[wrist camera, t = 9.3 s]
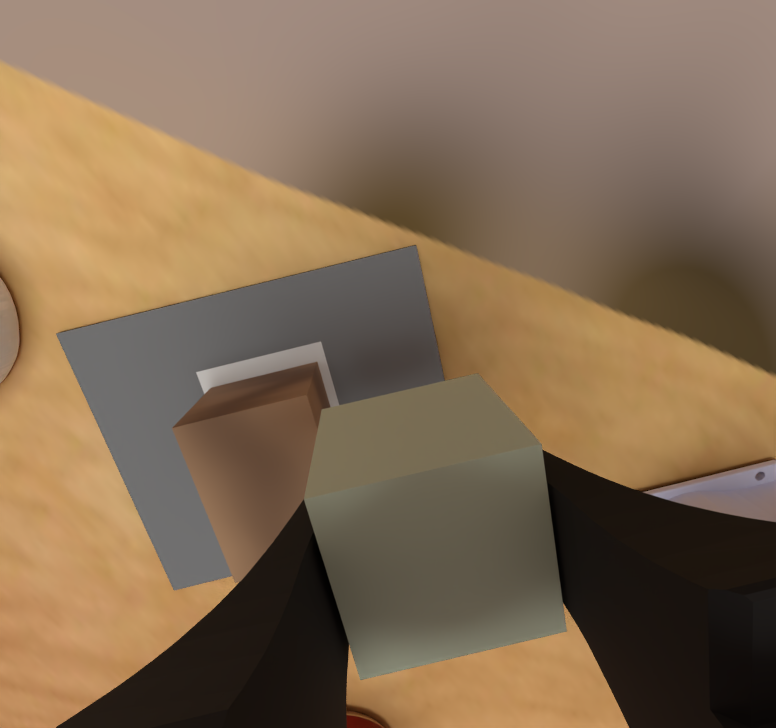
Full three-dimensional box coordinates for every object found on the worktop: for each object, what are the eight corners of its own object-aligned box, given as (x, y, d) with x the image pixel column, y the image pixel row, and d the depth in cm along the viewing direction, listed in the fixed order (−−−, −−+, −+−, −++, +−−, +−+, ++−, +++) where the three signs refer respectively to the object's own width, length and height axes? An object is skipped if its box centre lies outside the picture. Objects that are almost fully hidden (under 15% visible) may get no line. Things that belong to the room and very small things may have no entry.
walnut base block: (317, 361, 20) (306, 394, 16) (355, 492, 22) (355, 553, 18) (210, 387, 20) (171, 427, 16) (258, 515, 22) (234, 582, 18)
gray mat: (415, 245, 20) (416, 245, 19) (472, 514, 23) (473, 516, 23) (59, 332, 20) (56, 334, 19) (175, 587, 23) (174, 590, 23)
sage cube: (477, 373, 13) (541, 444, 8) (500, 508, 14) (566, 631, 10) (321, 409, 13) (303, 499, 8) (359, 541, 14) (360, 680, 9)
